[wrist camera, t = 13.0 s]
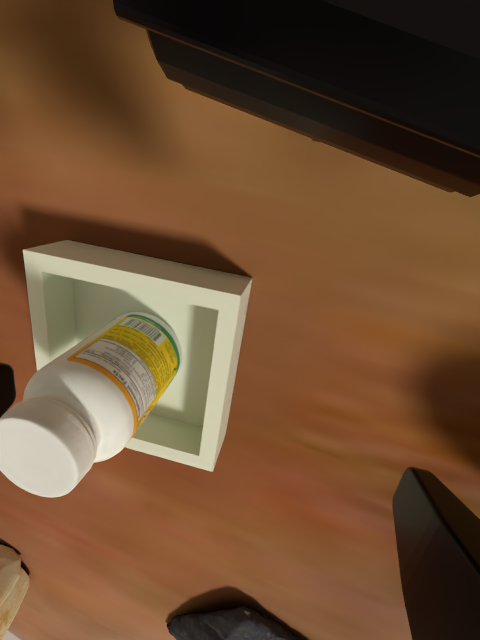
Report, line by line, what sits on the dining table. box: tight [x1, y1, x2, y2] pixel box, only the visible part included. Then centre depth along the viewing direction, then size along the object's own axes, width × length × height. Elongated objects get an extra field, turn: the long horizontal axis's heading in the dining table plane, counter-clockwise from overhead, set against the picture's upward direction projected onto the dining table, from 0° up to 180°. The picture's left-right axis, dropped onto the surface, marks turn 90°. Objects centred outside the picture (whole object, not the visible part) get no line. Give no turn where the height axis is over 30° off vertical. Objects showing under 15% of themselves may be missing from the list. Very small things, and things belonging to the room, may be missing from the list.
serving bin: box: [23, 240, 252, 472], centre depth 21 cm, size 12×12×4 cm
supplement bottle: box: [0, 312, 182, 497], centre depth 17 cm, size 5×5×10 cm
